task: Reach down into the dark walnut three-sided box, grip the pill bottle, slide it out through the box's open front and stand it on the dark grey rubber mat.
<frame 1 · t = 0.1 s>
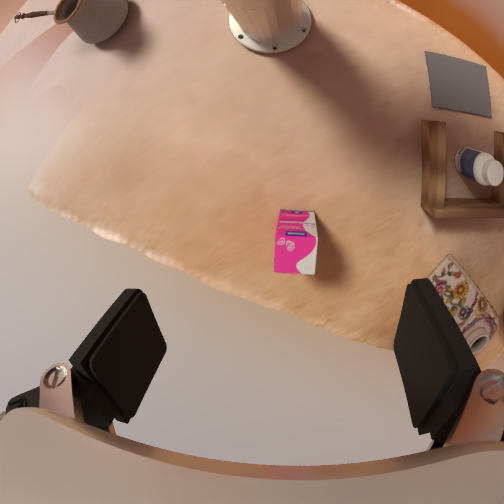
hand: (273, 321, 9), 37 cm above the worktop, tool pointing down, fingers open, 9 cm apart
supplement box: (296, 224, 47), on the worktop
mat: (461, 84, 29), on the worktop
pill bottle: (464, 160, 36), on the worktop
open box: (464, 166, 36), on the worktop
decorative jar: (443, 285, 47), on the worktop
coffee pot: (93, 20, 32), on the worktop
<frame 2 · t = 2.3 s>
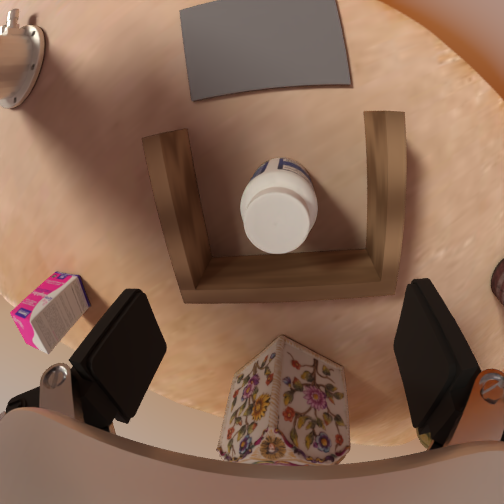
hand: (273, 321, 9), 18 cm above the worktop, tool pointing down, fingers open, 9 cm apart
supplement box: (73, 287, 36), on the worktop
mat: (262, 38, 19), on the worktop
pill bottle: (282, 184, 25), on the worktop
open box: (283, 195, 25), on the worktop
can: (503, 272, 25), on the worktop
decorative jar: (288, 370, 37), on the worktop
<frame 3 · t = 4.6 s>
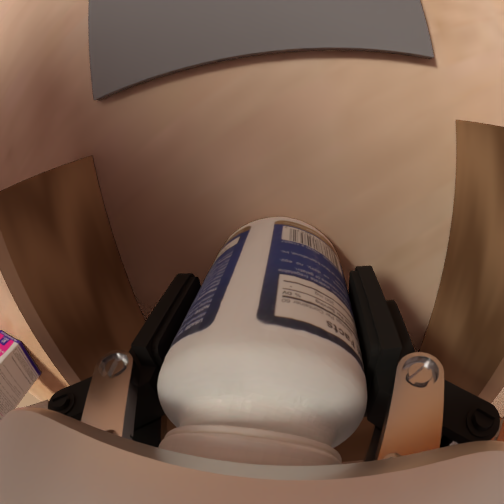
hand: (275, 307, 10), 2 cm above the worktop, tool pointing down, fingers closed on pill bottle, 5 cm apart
supplement box: (20, 349, 23), on the worktop
pill bottle: (279, 269, 12), on the worktop, touching gripper
open box: (281, 290, 13), on the worktop
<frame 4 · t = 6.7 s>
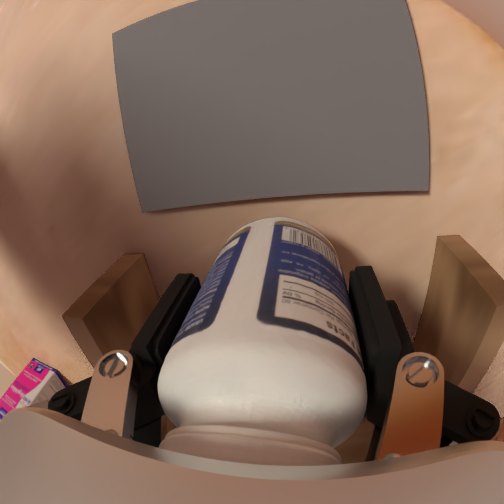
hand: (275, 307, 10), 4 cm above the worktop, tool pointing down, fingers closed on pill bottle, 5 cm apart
supplement box: (53, 375, 28), on the worktop
mat: (266, 85, 10), on the worktop
pill bottle: (279, 269, 12), point 2 cm above the worktop, touching gripper
open box: (294, 351, 17), on the worktop
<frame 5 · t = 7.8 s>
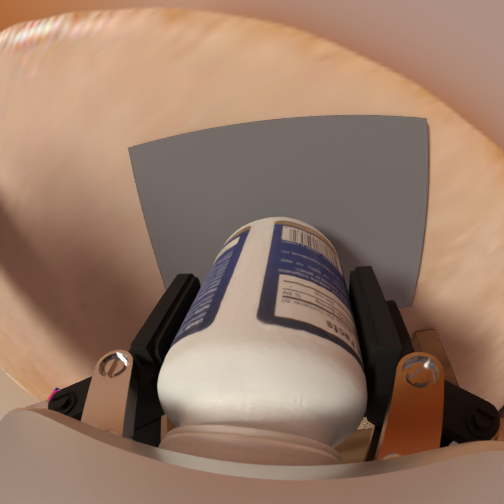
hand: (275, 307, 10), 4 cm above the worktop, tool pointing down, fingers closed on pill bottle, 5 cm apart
mat: (284, 226, 13), on the worktop
pill bottle: (279, 269, 12), point 2 cm above the worktop, touching gripper
open box: (296, 403, 20), on the worktop
when the fingers open (4 cm above the worktop, at t = 8.8 s): pill bottle stays where it is, resting on mat.
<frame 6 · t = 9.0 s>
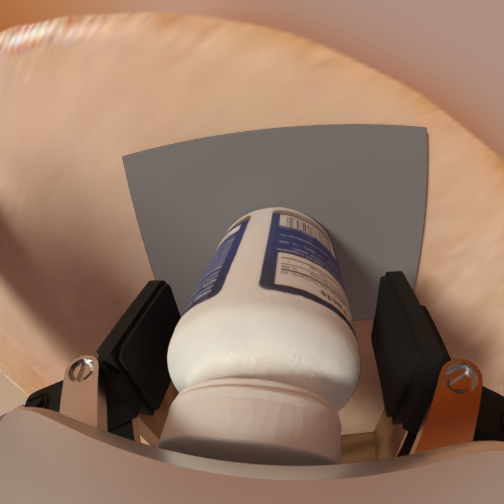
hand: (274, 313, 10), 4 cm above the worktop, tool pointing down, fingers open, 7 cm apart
mat: (279, 237, 13), on the worktop
pill bottle: (277, 257, 13), resting on mat
open box: (292, 409, 20), on the worktop
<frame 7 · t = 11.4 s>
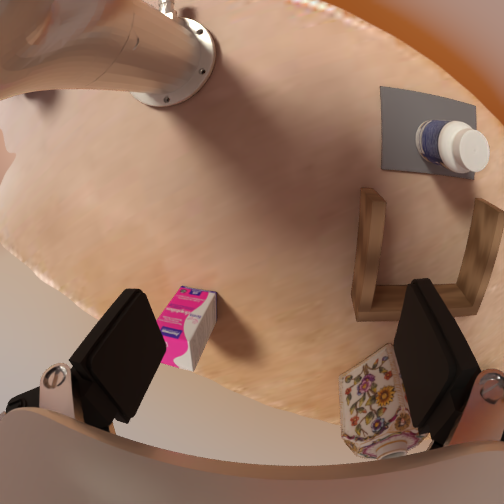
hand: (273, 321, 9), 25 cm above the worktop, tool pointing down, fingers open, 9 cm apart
supplement box: (199, 301, 42), on the worktop
mat: (432, 133, 26), on the worktop
pill bottle: (432, 141, 26), resting on mat
open box: (421, 246, 32), on the worktop
decorative jar: (380, 371, 43), on the worktop
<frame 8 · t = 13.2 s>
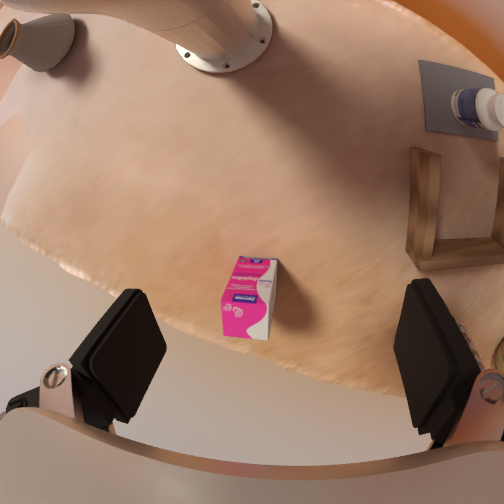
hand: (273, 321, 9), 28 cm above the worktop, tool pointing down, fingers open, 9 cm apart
supplement box: (258, 272, 42), on the worktop
mat: (463, 101, 25), on the worktop
pill bottle: (463, 107, 25), resting on mat
open box: (462, 202, 31), on the worktop
decorative jar: (428, 330, 43), on the worktop
coffee pot: (45, 44, 27), on the worktop
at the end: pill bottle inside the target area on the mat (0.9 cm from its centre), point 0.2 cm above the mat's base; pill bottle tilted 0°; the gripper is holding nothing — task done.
